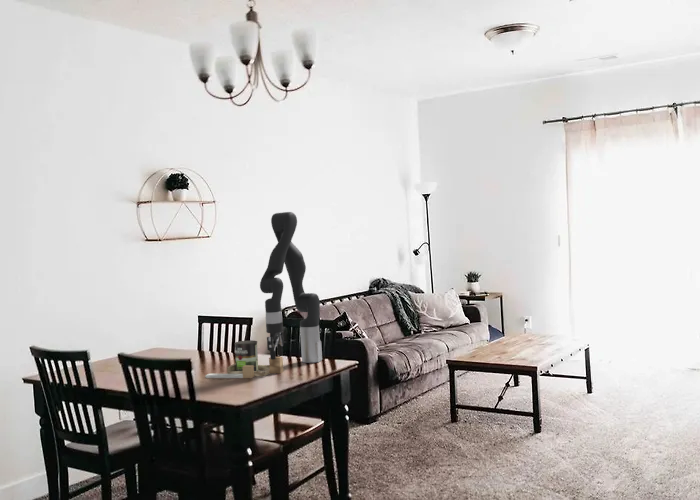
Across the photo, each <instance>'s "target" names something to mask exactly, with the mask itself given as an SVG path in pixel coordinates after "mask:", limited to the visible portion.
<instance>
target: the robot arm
mask: <svg viewBox="0 0 700 500" xmlns="http://www.w3.org/2000/svg"><path fill="white" fill-rule="evenodd" d="M270 221H271V222H270V223H271V227H272V231H273V233H274V235H275V237H276V240H277V244H276V245H275V247H274V248H273V249H272V251H271V252H270V256H269V260H268V262H267V264H268V265H267V268H266V270H265V271H264V273H263V275H262V277H261V278H260V282H259V288H260V291H261V292H262V293H264V294H271V295H272V296H271V297H270V298H267V299H265V301H264V308H265V328H266V329H265V330H266V333H267V334H269V336H267V337H266V346H267V347H266V348H267V351H269V355H270V357H271V359H276V357H282V356H283V354H284V353H283V347H284V345H285V339H284V324H283V313H282V303H281V302H282V298H283V292H284V283H283V280H282V279H281V278H280V277H276V276H278V275H281V274H282V273H283V271H284V267H285V269H286V272H287V275H288V278H289V283H290V285H291V291H292V297H293V300H294V304H295V307H296V310H297V312H298V311H299V313H307V316H306V318H303V319H301V320H300V321H299V329H300V330H299V331H300V347H301V348H300V349H301V351H300V352H301V363H307V364H312V363H314V364H315V363H320V362H322V360H323V351H322V349H323V348H322V341H321V339H320V337H321V336H320V318H321V307H320V306H321V302H320V298H319V295H318V294H317V293H314V292H313V293H310V292H309V293H307V292H305V289H304V286H303V280H304V277H305V274H306V270H307V269H306V268H307V267H306V262H305V259H304V256H303V254H302V252H301V251H300V249H299V248H298V247H297V246H296V245H295V244H294V243H293V242H292V240H293V237H294V234H295V232H296V230H297V225H298V218H297V215H296V214H295V213H294V212H292V211H285V212H284V211H283V212H276V213H273V214H272V215H271V218H270ZM284 265H285V266H284ZM276 353H277V356H276ZM270 357H269V358H270Z"/></svg>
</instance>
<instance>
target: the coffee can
mask: <svg viewBox="0 0 700 500" xmlns="http://www.w3.org/2000/svg"><path fill="white" fill-rule="evenodd" d="M234 352H235V364H236V371H243V369H242V367H243V366H245V365H254V371H259V370H258V365H259V357H258V354H259V353H258V341H257V340H254V339H253V340H252V339H251V340H240V341H236V342H234Z"/></svg>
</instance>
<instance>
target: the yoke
mask: <svg viewBox="0 0 700 500" xmlns="http://www.w3.org/2000/svg"><path fill="white" fill-rule="evenodd" d="M268 361H269V362H268V364H258V371H254V377H266V376H268V375H270V374H276V373H277V374H279V375H280V374H283V373H284V358H283V356H276V359H271V357H268ZM261 370H263V371H261ZM226 374H243V371H236V363H234V364H231V365H230V366H227V367H226Z"/></svg>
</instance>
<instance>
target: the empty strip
mask: <svg viewBox="0 0 700 500" xmlns="http://www.w3.org/2000/svg"><path fill="white" fill-rule="evenodd" d="M242 369H243V374H227V373H207V374H205V378H206V379H253V378H254V377H255V376H254V365H245V366H243V367H242Z"/></svg>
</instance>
